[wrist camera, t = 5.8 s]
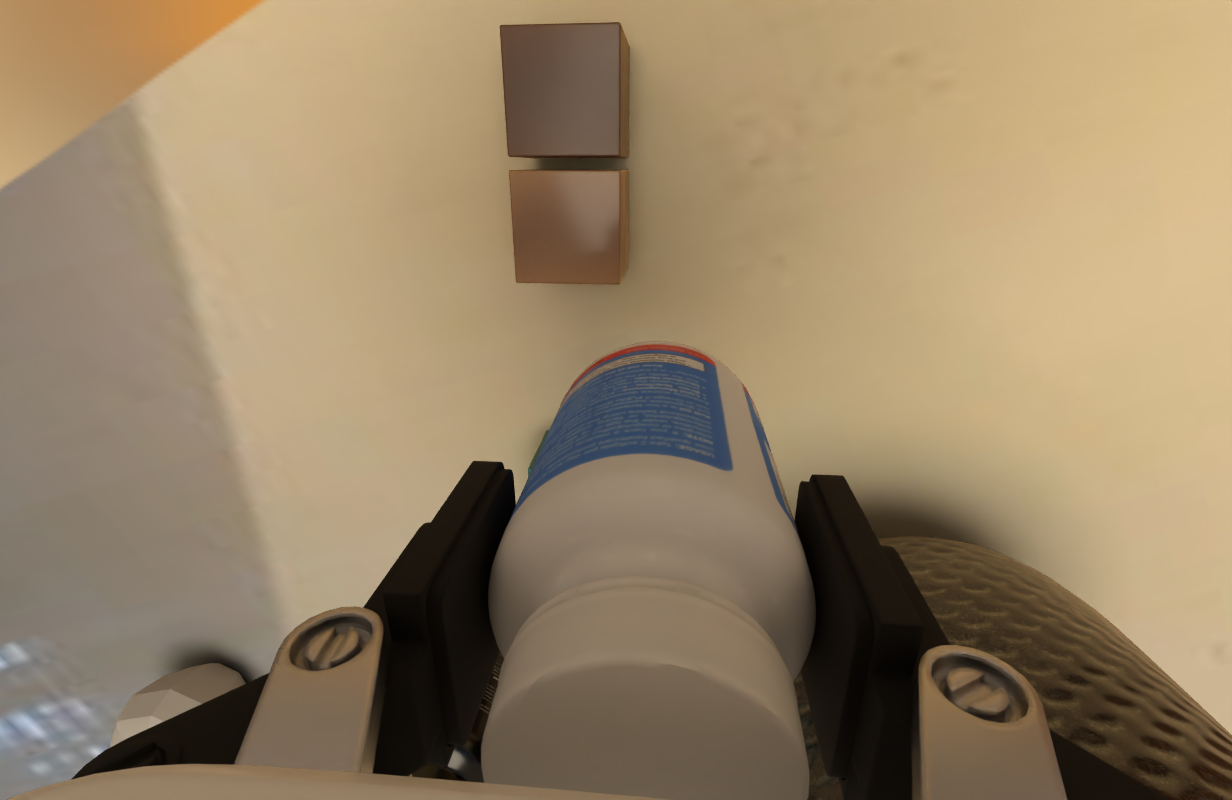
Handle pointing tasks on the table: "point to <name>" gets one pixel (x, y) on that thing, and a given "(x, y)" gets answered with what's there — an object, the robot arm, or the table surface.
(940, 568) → the planter
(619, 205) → the block
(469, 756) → the supplement bottle
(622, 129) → the block
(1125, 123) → the table surface
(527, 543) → the pill bottle
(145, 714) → the white pillar candle
